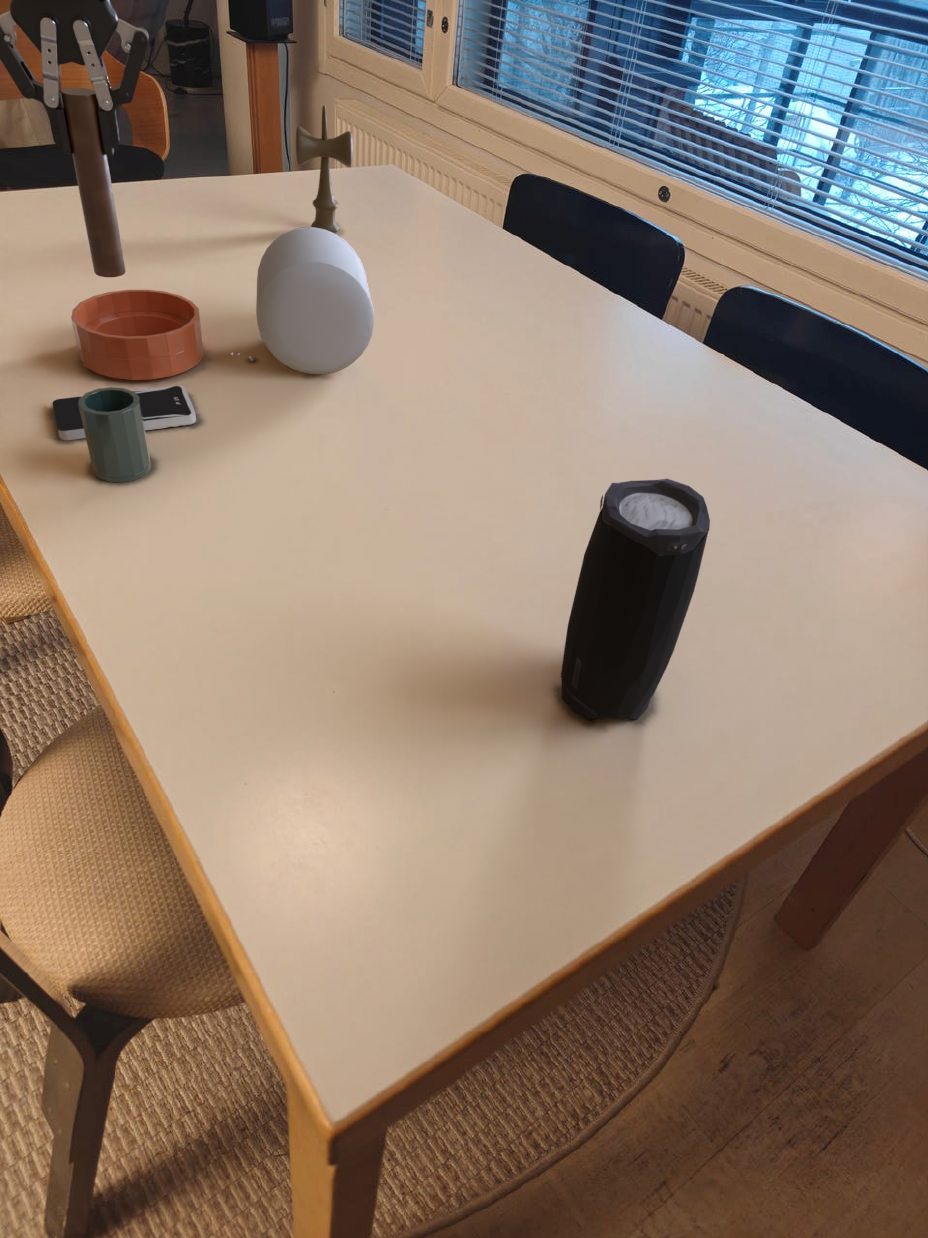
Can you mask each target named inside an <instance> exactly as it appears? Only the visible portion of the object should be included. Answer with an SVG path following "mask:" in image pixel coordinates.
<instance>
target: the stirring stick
mask: <svg viewBox="0 0 928 1238" xmlns="http://www.w3.org/2000/svg"><path fill="white" fill-rule="evenodd" d="M61 97H62V102H63V107H64V111H65V116H66V122H67V127H68V132H69V138H70V143H71V149H72V154H71V155H72V159H73V165H74V172H75V176H76V181H77V186H78V192H79V199H80V203H81V207H82V214H83V220H84V225H85V230H86V235H87V240H88V247H89V250H90V256H91V263H92V267H93V272H94V274H95V275H96V276H99V277H101V278H117V277H121V276H123V275H125V274H126V264H125V259H124V258H125V257H124V252H123V246H122V240H121V233H120V228H119V221H118V216H117V210H116V204H115V198H114V190H113V184H112V179H111V173H110V167H109V161H108V155H105V152H104V146H103V140H102V133H101V127H100V121H99V115H98V109H99V103H98V100H97V97H96V94H95V91H94V89H90V88H84V87H83V88H82V87H69V88H64V89H61Z"/></svg>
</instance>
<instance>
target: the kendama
mask: <svg viewBox="0 0 928 1238" xmlns="http://www.w3.org/2000/svg"><path fill="white" fill-rule="evenodd" d="M321 109H322V110H321V138H319V137H316V136H314V135H312V134H311V133H310V132H308V131H307V130H306V129H305V128H303V127H302V126H301V125H298V126H297V127H296V130H295V152H296V161H297V165H298V167H302V166H304V165H306V164H307V163H308V162H310V161H312V160H314V159H315V158H320V168H319V179H318V180H319V181H318V188H317V195H316V197H315V199H314V200H312V205H313V207H314V209H315V217H314V220H313V222H312V223H311V226H310V227H315V228H320V229H325V230H327V231H330V232H332V233H335V234H337V233H338V232H340V230H341V225H340V224H339V222H337V218H336V211H337V208H338V207H339V205H340V204H339V202H338V201H337V200H336V198H335V196H334V190H333V184H332V177H331V169H330V159H333V160H335V161H337V162H339V163H340V164H342V165H343V166H345V167H347V168H352V166H353V161H354V139H353V133H352V132H351V131H350V130H347V131H345V132H343V133H341V134H340V135H338V136H336V137H332V138H328V120H327V119H328V117H327V116H328V115H327V107H326V105H323V106H322V108H321Z"/></svg>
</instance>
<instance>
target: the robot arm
mask: <svg viewBox="0 0 928 1238" xmlns="http://www.w3.org/2000/svg"><path fill="white" fill-rule="evenodd" d="M16 25H17V27H18V28H19V29H20V30H21V31H22V32H23V34H24V35H25V36H26V37H27V39H28V40H29V41H30V42H31V43H32V44H33V46H34V47H35V48H36V49H37V51H38V53H40V54H41V74H42V75H41V76H42V82H40V81H38V80H37V79H36V78H35V76H34V75H33V73H32V71H31V69H30V68H29V67H28V65H27V63H26V62H25V60H24V58H23V57H22V55H21V53H20V51H19V49H18V48H17V47H16V45H15V44H16V43H17V41H18V35H17V31H16ZM115 33H117V34H118V35H119V37H120V46H121V49H122V50H123V52H125V53H127V54H128V55H127V58H126V62H125V66H124V70H123V73H122V77H121V81H120V84H119V85H115V86H114V87H112V86H111V82H110V79H109V76H108V72H107V67H106V64H105V61H104V57H103V56H104V53H105V52H106V49H107V48H108V46H109V44H110V42H111V40H112V38H113V36H114V35H115ZM149 39H150V35H149V32H148V30H147V29H146V28H144V27H143V26H138V27H136V26H134V25H132V24H130V23H129V22H127V21H125V20H123V19H121V18H120V17H119V15H118V12H117V10H116V8H115V7H114V5H113V3H112V1H111V0H10V2H9V10H8V11H6V12H4V13H2V14H0V61H1V63H2V64H3V66H4V68H5V69H6V71H7V73H8V74H9V76H10V77H11V79H12V81H13V82H14V84H15V86H16V87H17V89H18V90H19V92H20V94H21V95H22V96H23V97H24V98H25V99H28V100H31V99H33V100H35V101H38V102H40V103H42V105H44V106H45V108H46V111H47V116H48V120H49V125H50V131H51V135H52V140H53V142H54V144H55V146H56V147H62V152H63V154H65V155H72V149H71V143H70V138H69V132H68V127H67V122H66V116H65V111H64V107H63V101H62V96H61V90H62V65H65V64H66V65H67V64H69V63H74V64H76V65H79V66H83V67H85V68H86V71H87V74H88V77H89V80H90V83H91V84H92V87H93V91H95V94H96V97H97V100H98V104H99V109H98V115H99V121H100V127H101V133H102V140H103V146H104V152H105V155H107V156H114V154H115V149H119V145H120V140H121V137H120V130H119V123H118V118H117V110H116V109H117V108H118V107H119V106H122V105H124V104H127V105H128V104H130V103H132V102H133V99H134V95H135V92H136V88H137V84H138V81H139V77H140V75H141V70H142V67H143V63H144V59H145V56H146V52H147V48H148V46H149Z"/></svg>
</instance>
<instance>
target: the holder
mask: <svg viewBox="0 0 928 1238" xmlns="http://www.w3.org/2000/svg"><path fill="white" fill-rule="evenodd" d="M80 397H81V396H80ZM79 410H80V414H81V419H82V423H83V428H84V432H85V436H86V438H85V440H86V445H87V450H88V454H89V459H90V462H91V467H92V470H93V473H94V475H95V476H96V477H97V478H99V479H101V480H103V481H106V482H110V483H128V482H132V481H136V480H139V479H141V478H143V477H145V476H146V475H147V474H148V473H149V471H150V470H151V467H152V465H151V457H150V451H149V445H148V438H147V434H146V430H145V427H144V421H143V415H142V409H141V404H140V398H139V396H138V395H137V394H136V393H135V392H133V390H130V389H127V388H124V387H115V386H114V387H113V386H109V387H101V388H95V389H93V390H90V391H87V392H85V393H83V395H82V397H81V398H80V399H79Z"/></svg>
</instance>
